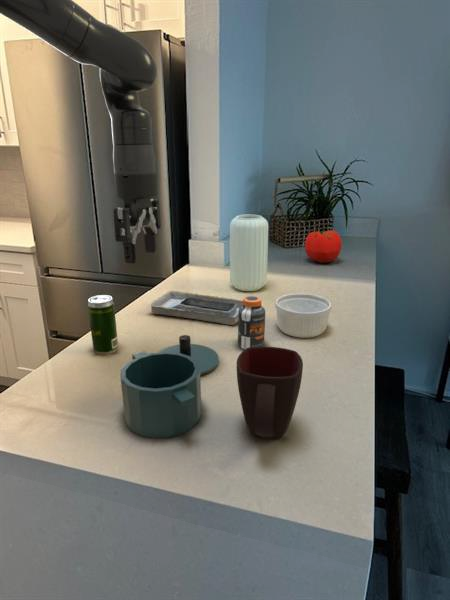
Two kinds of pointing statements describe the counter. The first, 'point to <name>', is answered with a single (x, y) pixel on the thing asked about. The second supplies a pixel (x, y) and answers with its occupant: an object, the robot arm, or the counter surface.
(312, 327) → the ramekin
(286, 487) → the counter surface
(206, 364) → the pot lid
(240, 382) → the cup
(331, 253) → the tomato
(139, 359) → the pot
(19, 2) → the robot arm
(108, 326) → the beer can
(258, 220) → the vase
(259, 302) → the pill bottle
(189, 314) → the grey metal tray
